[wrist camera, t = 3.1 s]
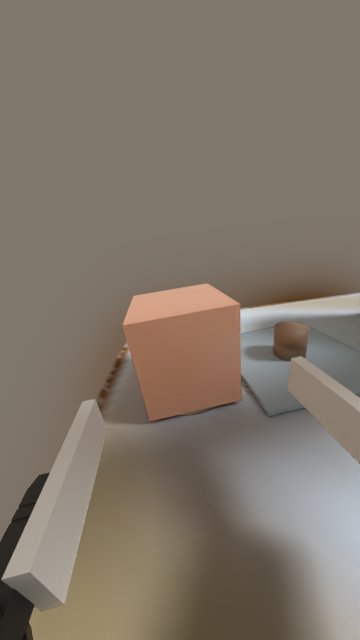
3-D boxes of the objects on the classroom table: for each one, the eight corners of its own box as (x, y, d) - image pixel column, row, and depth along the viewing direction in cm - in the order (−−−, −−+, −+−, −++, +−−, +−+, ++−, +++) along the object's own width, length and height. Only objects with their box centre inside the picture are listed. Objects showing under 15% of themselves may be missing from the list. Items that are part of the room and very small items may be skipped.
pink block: (212, 352, 29) (207, 283, 25) (241, 400, 20) (240, 304, 16) (150, 364, 28) (133, 296, 24) (149, 421, 19) (122, 325, 15)
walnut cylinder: (283, 342, 29) (285, 319, 27) (311, 353, 25) (315, 327, 24) (266, 352, 27) (268, 328, 25) (295, 365, 24) (298, 338, 22)
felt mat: (298, 324, 34) (299, 322, 34) (410, 382, 20) (411, 378, 19) (216, 341, 33) (216, 338, 33) (268, 416, 18) (269, 412, 18)
